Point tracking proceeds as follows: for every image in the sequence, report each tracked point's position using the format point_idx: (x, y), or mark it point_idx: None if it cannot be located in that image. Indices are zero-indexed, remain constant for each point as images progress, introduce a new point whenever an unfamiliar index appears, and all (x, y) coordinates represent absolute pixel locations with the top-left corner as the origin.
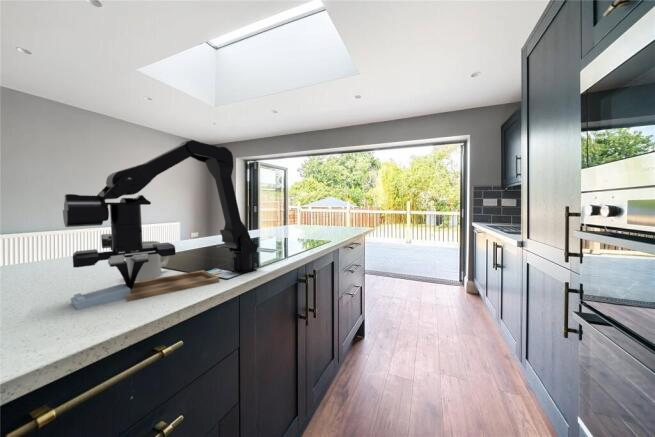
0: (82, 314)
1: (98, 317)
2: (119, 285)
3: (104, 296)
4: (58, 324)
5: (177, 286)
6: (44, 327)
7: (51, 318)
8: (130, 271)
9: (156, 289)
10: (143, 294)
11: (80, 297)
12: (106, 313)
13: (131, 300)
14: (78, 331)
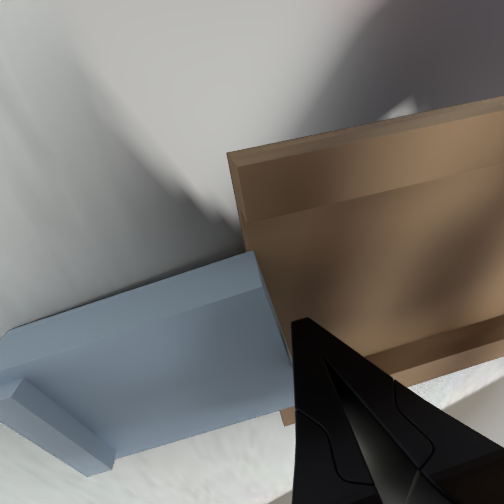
0: None
1: (196, 449)
2: (248, 315)
3: (193, 431)
4: None
5: (469, 364)
6: (53, 479)
7: (13, 430)
8: (377, 450)
9: None
10: None
11: (77, 458)
12: (212, 430)
13: None
14: (173, 498)
